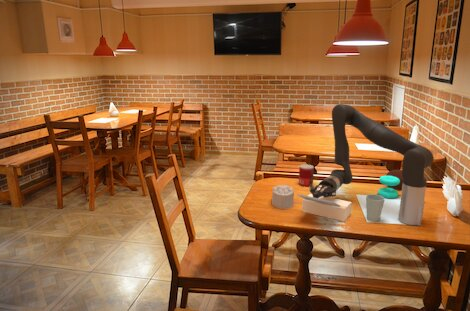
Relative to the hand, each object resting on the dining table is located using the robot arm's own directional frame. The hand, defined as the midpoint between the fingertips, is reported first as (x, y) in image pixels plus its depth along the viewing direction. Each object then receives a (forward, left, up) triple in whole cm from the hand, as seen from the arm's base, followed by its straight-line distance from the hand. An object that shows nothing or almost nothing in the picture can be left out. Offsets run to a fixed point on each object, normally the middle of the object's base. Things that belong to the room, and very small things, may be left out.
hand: (314, 196), depth 158 cm
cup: (-20, -20, -13) cm, 31 cm away
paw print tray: (+21, -13, -13) cm, 28 cm away
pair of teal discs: (-19, -55, -13) cm, 59 cm away
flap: (0, -9, -6) cm, 11 cm away
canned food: (+24, -47, -13) cm, 54 cm away
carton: (0, -14, -13) cm, 19 cm away
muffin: (-20, -71, -13) cm, 75 cm away
